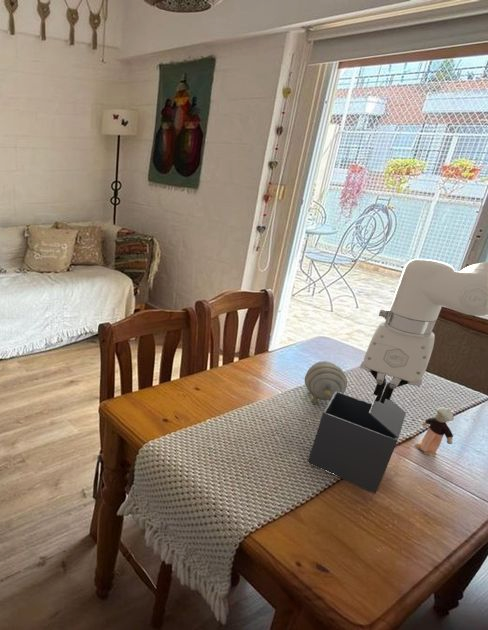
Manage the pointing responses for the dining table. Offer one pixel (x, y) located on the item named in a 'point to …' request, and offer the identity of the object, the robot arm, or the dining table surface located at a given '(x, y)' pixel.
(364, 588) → the dining table surface
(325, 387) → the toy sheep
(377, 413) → the flap
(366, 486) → the carton
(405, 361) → the robot arm
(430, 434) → the grandmother figurine
